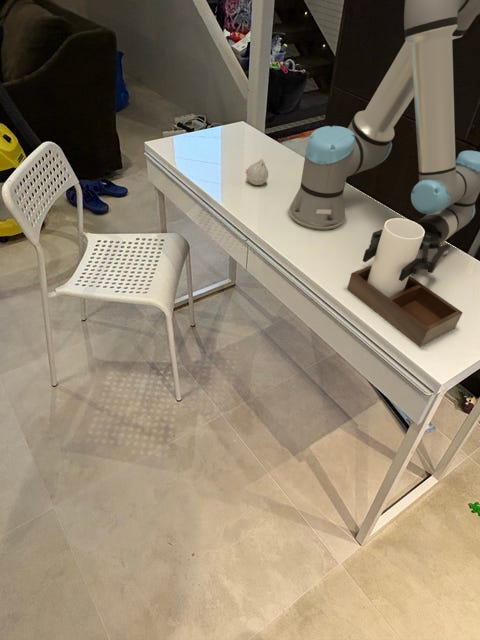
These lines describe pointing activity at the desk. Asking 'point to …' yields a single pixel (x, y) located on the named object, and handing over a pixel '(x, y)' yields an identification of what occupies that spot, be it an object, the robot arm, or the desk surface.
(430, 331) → the holder
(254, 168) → the garlic bulb
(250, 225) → the desk surface
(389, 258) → the cup
